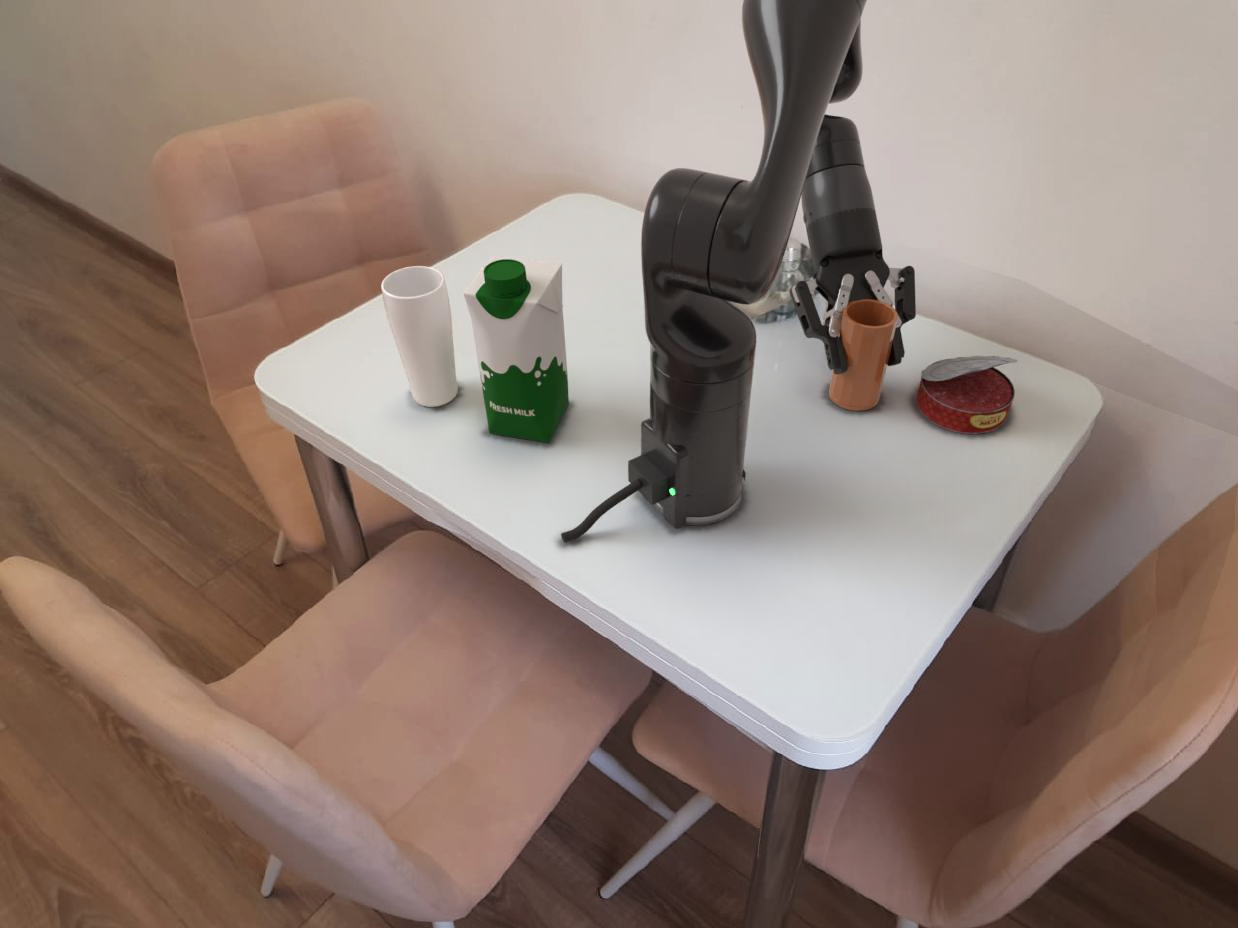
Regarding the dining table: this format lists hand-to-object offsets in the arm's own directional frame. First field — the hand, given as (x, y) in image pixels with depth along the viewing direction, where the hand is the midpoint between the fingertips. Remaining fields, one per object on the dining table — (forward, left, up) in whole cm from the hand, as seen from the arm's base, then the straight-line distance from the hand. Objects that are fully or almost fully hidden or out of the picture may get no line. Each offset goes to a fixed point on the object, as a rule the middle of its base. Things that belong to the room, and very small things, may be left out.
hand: (868, 368), depth 96 cm
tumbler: (+1, +2, -5) cm, 5 cm away
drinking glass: (-39, +29, -5) cm, 49 cm away
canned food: (+9, -6, -5) cm, 12 cm away
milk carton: (-32, +19, -5) cm, 38 cm away
